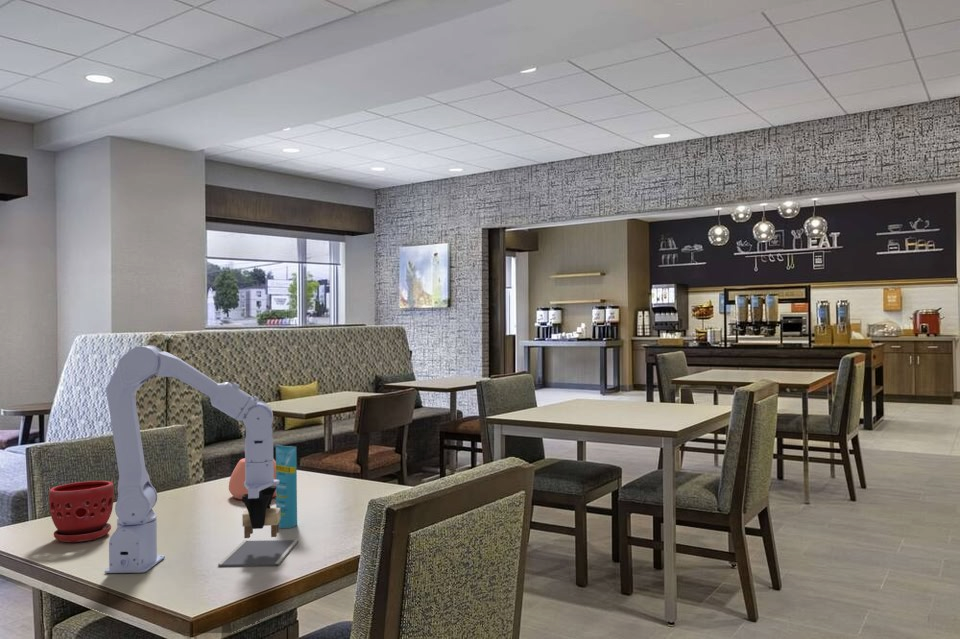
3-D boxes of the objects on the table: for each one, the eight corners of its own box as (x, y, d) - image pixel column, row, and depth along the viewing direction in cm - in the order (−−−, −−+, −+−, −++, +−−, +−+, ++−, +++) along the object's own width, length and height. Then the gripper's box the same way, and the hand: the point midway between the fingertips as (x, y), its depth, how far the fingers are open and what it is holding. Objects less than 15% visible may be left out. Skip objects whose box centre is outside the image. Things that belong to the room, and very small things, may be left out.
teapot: (220, 491, 212) (220, 449, 212) (272, 485, 220) (272, 444, 220) (237, 507, 193) (237, 460, 194) (294, 499, 201) (293, 455, 201)
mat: (278, 565, 146) (278, 563, 146) (218, 566, 146) (218, 564, 146) (298, 541, 162) (298, 539, 162) (244, 542, 162) (244, 540, 162)
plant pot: (127, 531, 172) (126, 480, 172) (82, 547, 160) (82, 492, 160) (81, 527, 176) (81, 477, 176) (35, 543, 163) (34, 489, 163)
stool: (242, 538, 151) (242, 514, 151) (246, 532, 156) (246, 508, 156) (277, 537, 152) (277, 513, 152) (280, 531, 156) (280, 507, 157)
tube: (268, 526, 175) (267, 445, 175) (283, 521, 179) (282, 442, 179) (291, 530, 171) (290, 448, 171) (305, 525, 175) (305, 444, 175)
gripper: (273, 466, 147) (274, 533, 147) (283, 453, 162) (284, 515, 161) (237, 467, 146) (237, 535, 146) (250, 454, 161) (251, 516, 161)
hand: (260, 524), depth 154 cm, fingers closed on stool, 4 cm apart
